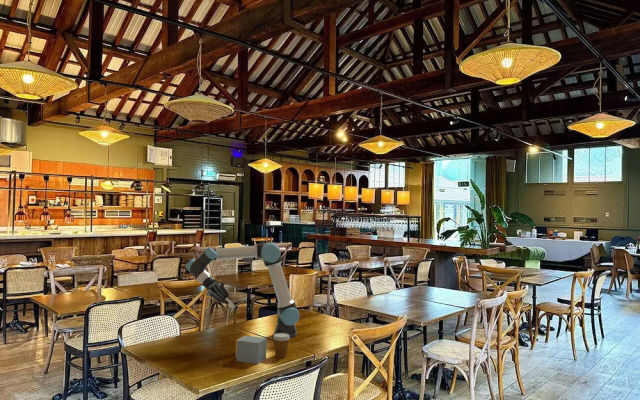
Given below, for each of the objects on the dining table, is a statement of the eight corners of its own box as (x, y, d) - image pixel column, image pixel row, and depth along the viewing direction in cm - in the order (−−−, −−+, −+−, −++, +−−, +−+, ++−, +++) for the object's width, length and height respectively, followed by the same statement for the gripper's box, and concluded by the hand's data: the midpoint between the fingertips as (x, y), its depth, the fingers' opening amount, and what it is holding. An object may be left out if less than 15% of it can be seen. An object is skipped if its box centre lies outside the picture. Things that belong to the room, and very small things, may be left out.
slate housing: (235, 360, 243) (236, 340, 243) (244, 355, 252) (245, 335, 253) (257, 364, 238) (258, 343, 239) (266, 358, 248) (266, 338, 249)
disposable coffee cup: (282, 360, 247) (283, 338, 247) (269, 356, 252) (269, 335, 252) (292, 355, 255) (293, 334, 255) (279, 352, 260) (279, 331, 260)
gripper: (211, 278, 279) (237, 304, 275) (196, 288, 269) (223, 315, 265) (215, 271, 275) (242, 297, 271) (200, 281, 264) (228, 308, 260)
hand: (232, 306), depth 268 cm, fingers closed
